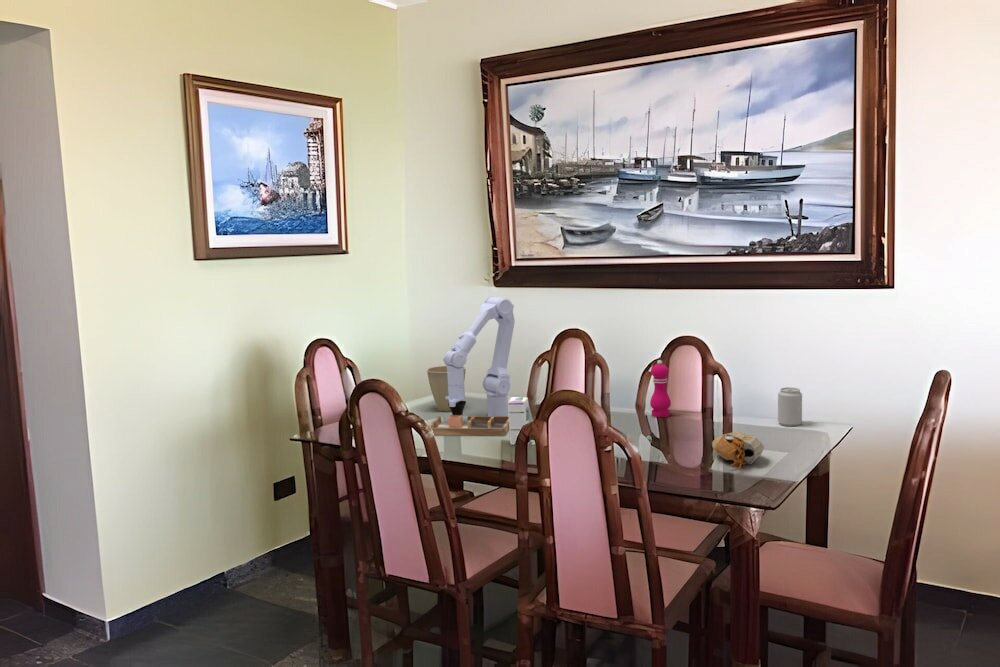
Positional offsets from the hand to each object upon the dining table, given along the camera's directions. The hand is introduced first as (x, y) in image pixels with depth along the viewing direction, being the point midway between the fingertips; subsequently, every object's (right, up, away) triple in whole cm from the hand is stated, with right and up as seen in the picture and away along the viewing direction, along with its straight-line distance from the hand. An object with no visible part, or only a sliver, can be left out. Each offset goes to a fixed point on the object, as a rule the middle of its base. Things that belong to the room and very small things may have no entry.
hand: (458, 422), depth 283 cm
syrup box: (+21, -4, -23) cm, 32 cm away
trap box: (+5, -2, -6) cm, 8 cm away
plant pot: (-5, +2, +27) cm, 28 cm away
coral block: (-1, -2, -3) cm, 4 cm away
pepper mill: (+72, +2, +3) cm, 72 cm away
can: (+111, +1, -16) cm, 112 cm away
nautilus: (+82, -6, -54) cm, 98 cm away
